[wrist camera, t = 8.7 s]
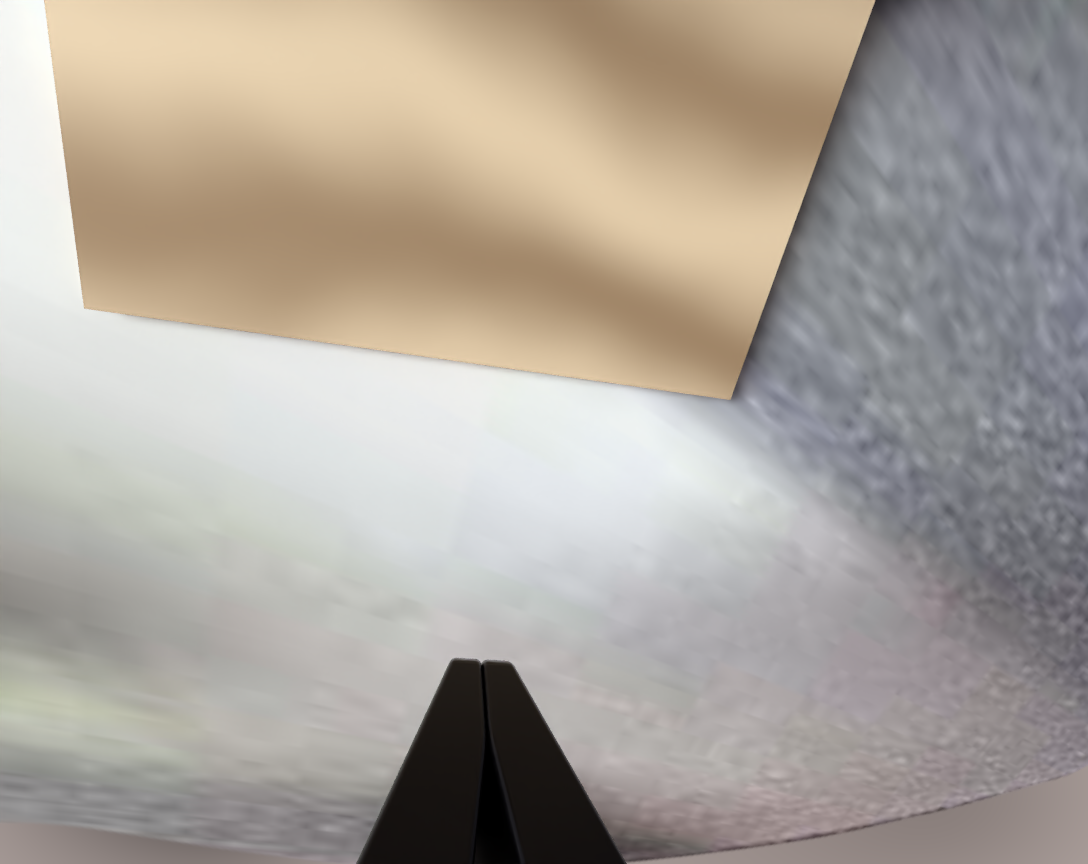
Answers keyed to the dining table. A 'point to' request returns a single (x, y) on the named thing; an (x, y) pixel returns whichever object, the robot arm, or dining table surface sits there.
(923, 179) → the dining table surface
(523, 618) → the dining table surface
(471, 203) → the base
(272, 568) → the dining table surface
